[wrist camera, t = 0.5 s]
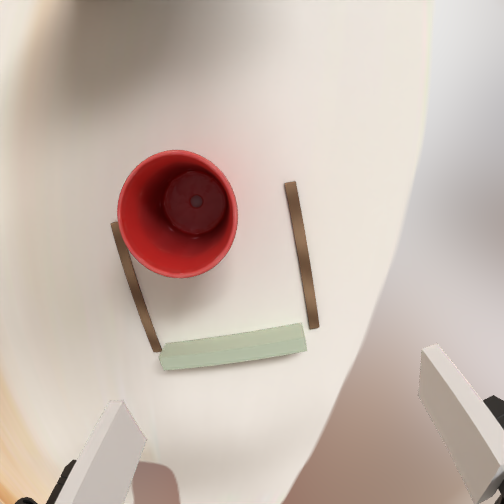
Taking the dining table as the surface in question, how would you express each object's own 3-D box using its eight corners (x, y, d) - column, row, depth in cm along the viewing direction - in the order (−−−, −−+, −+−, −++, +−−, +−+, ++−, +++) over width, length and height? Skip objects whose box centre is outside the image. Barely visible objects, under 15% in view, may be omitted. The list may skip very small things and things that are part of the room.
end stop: (165, 343, 40) (158, 357, 37) (301, 322, 39) (304, 336, 35) (170, 355, 41) (163, 370, 37) (303, 336, 39) (307, 350, 36)
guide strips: (111, 223, 36) (110, 223, 36) (295, 181, 34) (295, 181, 34) (154, 351, 41) (153, 352, 40) (319, 326, 39) (319, 327, 39)
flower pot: (252, 160, 34) (248, 160, 24) (235, 256, 37) (226, 289, 27) (159, 147, 33) (124, 143, 24) (147, 240, 36) (113, 266, 27)
